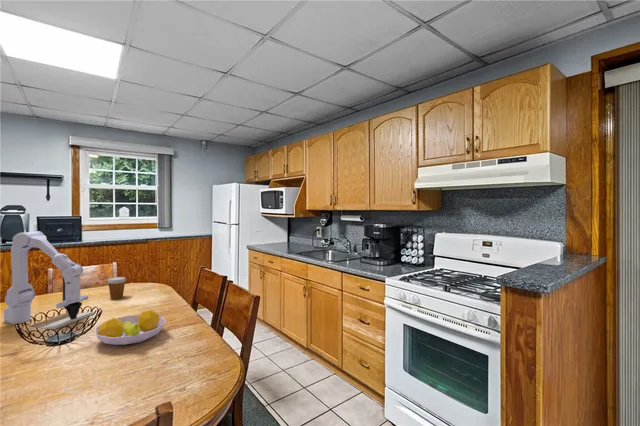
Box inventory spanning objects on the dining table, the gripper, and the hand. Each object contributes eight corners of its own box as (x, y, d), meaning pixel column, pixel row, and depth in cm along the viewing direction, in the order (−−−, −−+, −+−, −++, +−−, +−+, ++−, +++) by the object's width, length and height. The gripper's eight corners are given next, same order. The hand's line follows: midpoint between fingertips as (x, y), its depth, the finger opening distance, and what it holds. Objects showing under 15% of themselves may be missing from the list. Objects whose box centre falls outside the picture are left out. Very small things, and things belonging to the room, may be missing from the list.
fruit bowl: (104, 330, 144) (104, 305, 144) (169, 324, 153) (169, 301, 153) (80, 358, 118) (80, 328, 117) (160, 349, 127) (161, 321, 126)
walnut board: (26, 329, 143) (26, 326, 143) (68, 314, 163) (68, 312, 163) (39, 330, 142) (39, 327, 142) (80, 315, 162) (80, 313, 162)
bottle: (64, 304, 178) (64, 269, 177) (61, 302, 182) (61, 267, 182) (79, 301, 183) (79, 267, 183) (75, 299, 187) (75, 266, 187)
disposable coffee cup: (108, 296, 195) (109, 277, 194) (126, 295, 199) (127, 276, 198) (105, 301, 186) (106, 280, 186) (124, 299, 190) (124, 279, 190)
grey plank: (40, 330, 142) (40, 327, 142) (81, 315, 162) (81, 313, 162) (54, 329, 141) (54, 326, 141) (94, 313, 160) (93, 311, 160)
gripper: (65, 295, 143) (65, 324, 143) (93, 286, 157) (93, 313, 157) (52, 294, 144) (52, 323, 144) (81, 286, 158) (81, 313, 158)
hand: (73, 318), depth 151 cm, fingers closed, pressing on grey plank
